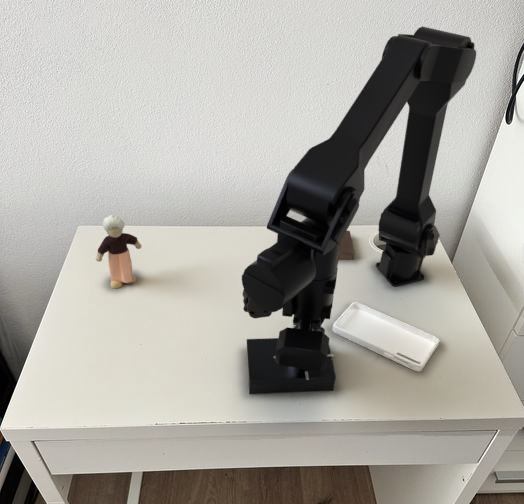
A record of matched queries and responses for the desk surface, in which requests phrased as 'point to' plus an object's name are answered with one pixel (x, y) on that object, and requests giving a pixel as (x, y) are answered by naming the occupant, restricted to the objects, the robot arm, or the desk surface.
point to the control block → (346, 247)
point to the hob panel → (283, 371)
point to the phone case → (386, 335)
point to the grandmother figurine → (117, 251)
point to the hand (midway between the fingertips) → (303, 354)
